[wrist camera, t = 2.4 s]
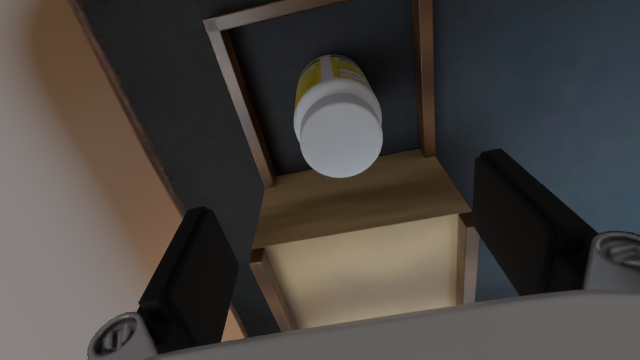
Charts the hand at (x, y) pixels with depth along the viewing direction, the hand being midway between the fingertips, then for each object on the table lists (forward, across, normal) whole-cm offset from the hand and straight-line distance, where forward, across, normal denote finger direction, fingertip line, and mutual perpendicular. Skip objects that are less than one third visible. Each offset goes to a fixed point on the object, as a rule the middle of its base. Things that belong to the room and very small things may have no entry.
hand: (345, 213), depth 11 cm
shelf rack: (+13, 0, +5) cm, 14 cm away
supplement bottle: (+13, 0, -1) cm, 13 cm away
